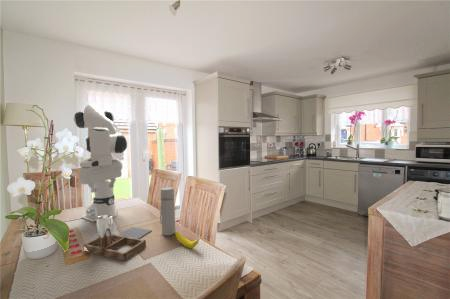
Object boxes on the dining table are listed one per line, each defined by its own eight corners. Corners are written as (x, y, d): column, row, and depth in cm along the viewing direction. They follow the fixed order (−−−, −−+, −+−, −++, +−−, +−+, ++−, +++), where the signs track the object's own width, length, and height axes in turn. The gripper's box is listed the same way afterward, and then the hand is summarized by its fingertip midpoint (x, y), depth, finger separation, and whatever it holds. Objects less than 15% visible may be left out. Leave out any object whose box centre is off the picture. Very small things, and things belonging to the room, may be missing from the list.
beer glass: (102, 243, 107) (100, 214, 106) (116, 242, 107) (115, 213, 107) (95, 250, 100) (93, 219, 99) (110, 249, 101) (108, 219, 100)
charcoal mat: (115, 237, 114) (115, 236, 113) (132, 228, 125) (132, 227, 125) (135, 241, 109) (135, 240, 109) (151, 231, 120) (151, 230, 120)
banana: (177, 239, 110) (177, 227, 110) (201, 251, 97) (201, 238, 97) (172, 241, 108) (172, 228, 108) (196, 254, 95) (196, 240, 95)
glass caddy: (84, 251, 100) (83, 245, 100) (107, 238, 112) (107, 233, 112) (124, 260, 91) (124, 254, 91) (145, 246, 103) (145, 240, 103)
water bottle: (178, 231, 119) (177, 187, 118) (169, 237, 112) (167, 190, 110) (165, 228, 123) (164, 186, 121) (156, 234, 116) (154, 189, 114)
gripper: (114, 158, 112) (116, 184, 113) (75, 163, 93) (77, 194, 94) (123, 159, 110) (125, 185, 111) (85, 164, 91) (87, 195, 92)
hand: (103, 189), depth 102 cm, fingers open, 8 cm apart
